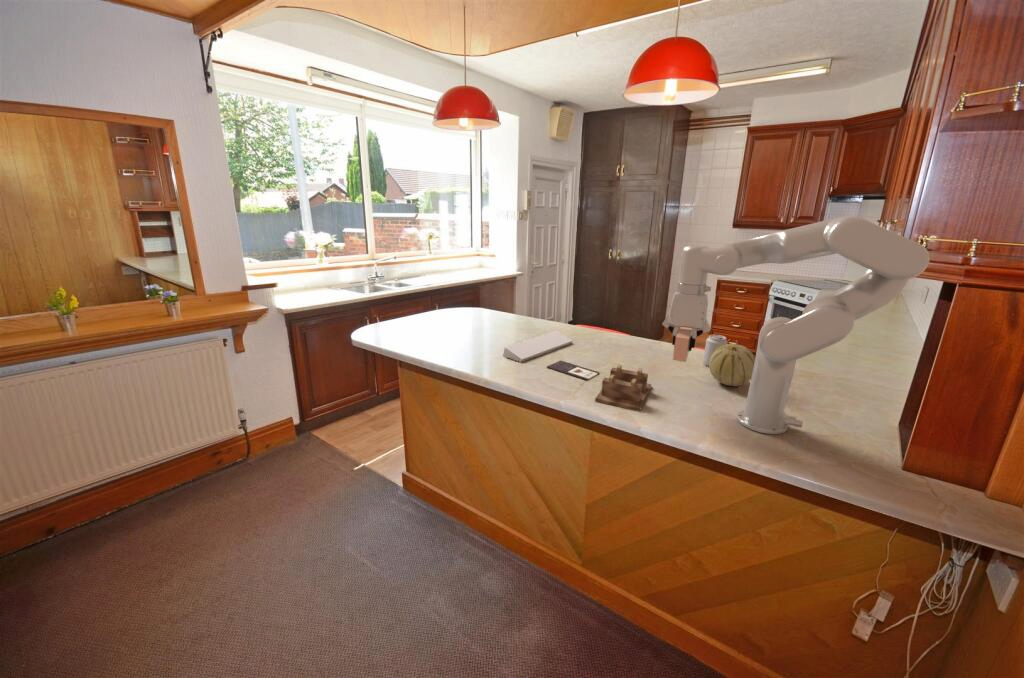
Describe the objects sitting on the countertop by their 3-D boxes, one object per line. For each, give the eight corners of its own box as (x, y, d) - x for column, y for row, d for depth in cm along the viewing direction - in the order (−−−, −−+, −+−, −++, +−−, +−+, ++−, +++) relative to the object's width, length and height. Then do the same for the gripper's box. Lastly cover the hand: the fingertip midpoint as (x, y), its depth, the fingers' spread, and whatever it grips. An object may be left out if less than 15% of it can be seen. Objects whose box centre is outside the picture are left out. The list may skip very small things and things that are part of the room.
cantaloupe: (747, 378, 152) (755, 339, 147) (756, 395, 139) (765, 353, 134) (703, 373, 156) (710, 335, 151) (708, 389, 143) (715, 348, 138)
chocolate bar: (560, 360, 167) (599, 372, 155) (560, 362, 167) (599, 374, 156) (546, 366, 160) (586, 379, 149) (546, 368, 161) (586, 381, 149)
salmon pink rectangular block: (691, 345, 133) (694, 324, 130) (685, 361, 119) (688, 338, 117) (679, 344, 134) (682, 323, 132) (672, 359, 121) (675, 337, 118)
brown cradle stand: (651, 386, 144) (653, 366, 142) (639, 410, 128) (641, 388, 125) (611, 379, 151) (612, 359, 148) (595, 401, 134) (596, 379, 131)
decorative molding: (570, 349, 191) (554, 338, 196) (573, 340, 188) (556, 330, 194) (519, 369, 167) (502, 356, 173) (521, 359, 165) (504, 347, 171)
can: (718, 370, 159) (723, 340, 156) (699, 364, 165) (703, 336, 161) (726, 365, 164) (731, 336, 160) (707, 360, 169) (712, 332, 166)
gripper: (723, 289, 120) (713, 349, 126) (663, 284, 127) (656, 341, 133) (722, 294, 114) (712, 356, 119) (659, 288, 121) (652, 348, 127)
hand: (682, 348), depth 126 cm, fingers closed on salmon pink rectangular block, 3 cm apart
